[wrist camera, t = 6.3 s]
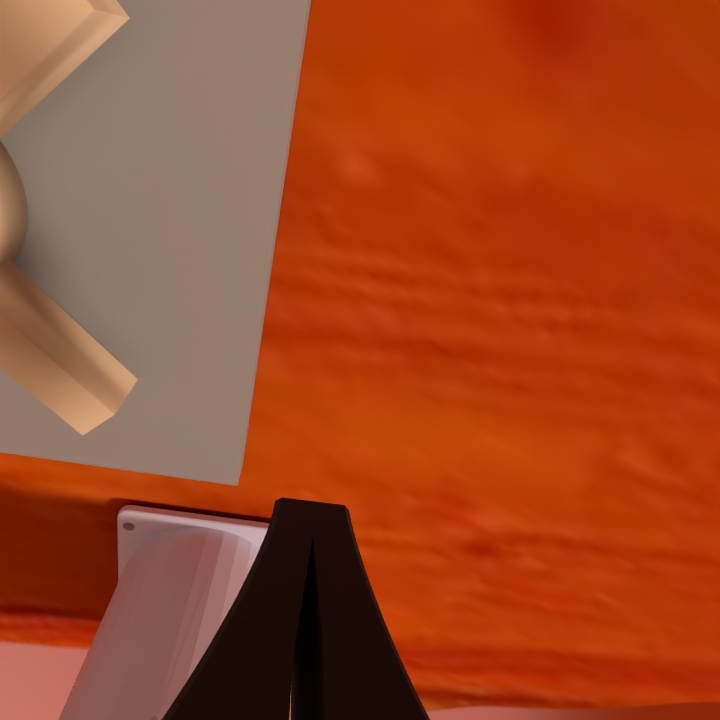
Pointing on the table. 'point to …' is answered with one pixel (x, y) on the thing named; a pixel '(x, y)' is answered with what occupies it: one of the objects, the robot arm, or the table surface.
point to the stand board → (162, 226)
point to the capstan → (10, 217)
